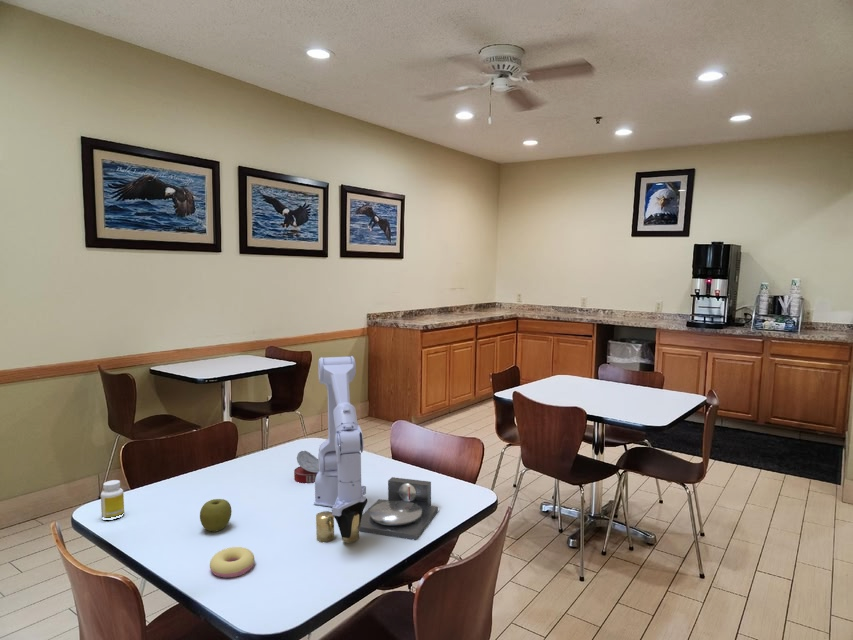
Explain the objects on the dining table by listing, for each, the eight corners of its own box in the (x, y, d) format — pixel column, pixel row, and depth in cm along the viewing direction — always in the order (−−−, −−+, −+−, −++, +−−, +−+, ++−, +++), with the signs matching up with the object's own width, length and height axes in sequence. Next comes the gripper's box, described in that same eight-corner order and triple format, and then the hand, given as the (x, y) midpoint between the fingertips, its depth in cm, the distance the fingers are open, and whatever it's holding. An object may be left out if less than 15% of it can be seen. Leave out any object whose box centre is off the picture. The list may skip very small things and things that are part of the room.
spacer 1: (313, 541, 135) (312, 517, 135) (322, 533, 139) (321, 510, 139) (329, 543, 134) (328, 519, 133) (337, 535, 138) (337, 512, 137)
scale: (350, 530, 141) (350, 503, 140) (382, 499, 161) (382, 476, 160) (416, 540, 135) (415, 512, 134) (441, 506, 155) (441, 482, 154)
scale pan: (361, 521, 142) (360, 518, 142) (382, 500, 155) (382, 497, 155) (411, 528, 137) (411, 525, 137) (428, 506, 151) (428, 504, 151)
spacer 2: (338, 540, 133) (337, 517, 132) (346, 533, 137) (346, 509, 136) (354, 543, 131) (354, 519, 131) (362, 535, 135) (362, 512, 135)
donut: (245, 563, 129) (204, 570, 124) (246, 543, 130) (205, 548, 124) (259, 575, 121) (216, 582, 115) (261, 553, 122) (217, 559, 116)
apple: (237, 523, 145) (236, 497, 145) (220, 537, 137) (219, 509, 137) (212, 520, 147) (211, 495, 146) (193, 534, 139) (192, 507, 139)
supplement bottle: (128, 515, 151) (127, 480, 150) (110, 523, 146) (108, 487, 145) (115, 511, 153) (114, 477, 153) (97, 519, 148) (95, 484, 148)
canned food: (313, 486, 184) (324, 457, 187) (323, 492, 176) (335, 462, 178) (283, 476, 179) (295, 446, 182) (292, 482, 171) (305, 451, 173)
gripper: (350, 491, 125) (351, 548, 126) (376, 470, 139) (377, 522, 140) (323, 487, 127) (324, 544, 128) (351, 467, 141) (352, 518, 142)
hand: (350, 532), depth 134 cm, fingers closed on spacer 2, 4 cm apart
